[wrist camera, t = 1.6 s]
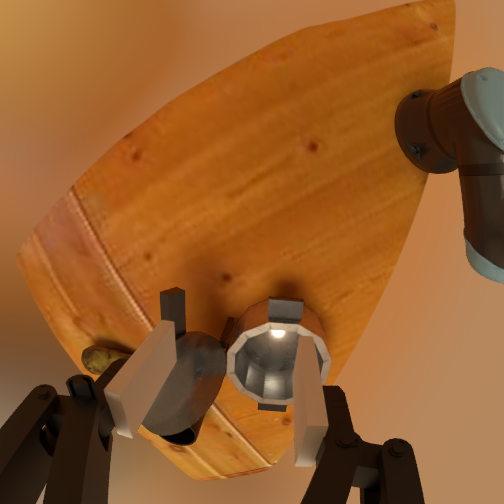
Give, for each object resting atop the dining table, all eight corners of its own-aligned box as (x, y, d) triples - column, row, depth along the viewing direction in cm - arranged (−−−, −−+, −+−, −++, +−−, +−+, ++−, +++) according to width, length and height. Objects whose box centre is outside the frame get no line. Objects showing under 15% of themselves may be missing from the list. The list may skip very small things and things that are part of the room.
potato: (139, 380, 57) (124, 401, 49) (93, 351, 57) (75, 368, 49) (148, 356, 55) (132, 377, 47) (98, 325, 55) (79, 342, 47)
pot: (332, 285, 48) (342, 308, 39) (312, 386, 53) (316, 417, 44) (230, 277, 49) (219, 297, 40) (226, 379, 54) (218, 409, 45)
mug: (219, 399, 56) (211, 428, 47) (194, 424, 59) (184, 451, 50) (181, 376, 55) (168, 404, 47) (160, 404, 58) (147, 429, 50)
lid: (120, 316, 26) (108, 307, 27) (149, 452, 31) (138, 442, 32) (230, 279, 39) (215, 274, 41) (226, 400, 44) (214, 394, 46)
